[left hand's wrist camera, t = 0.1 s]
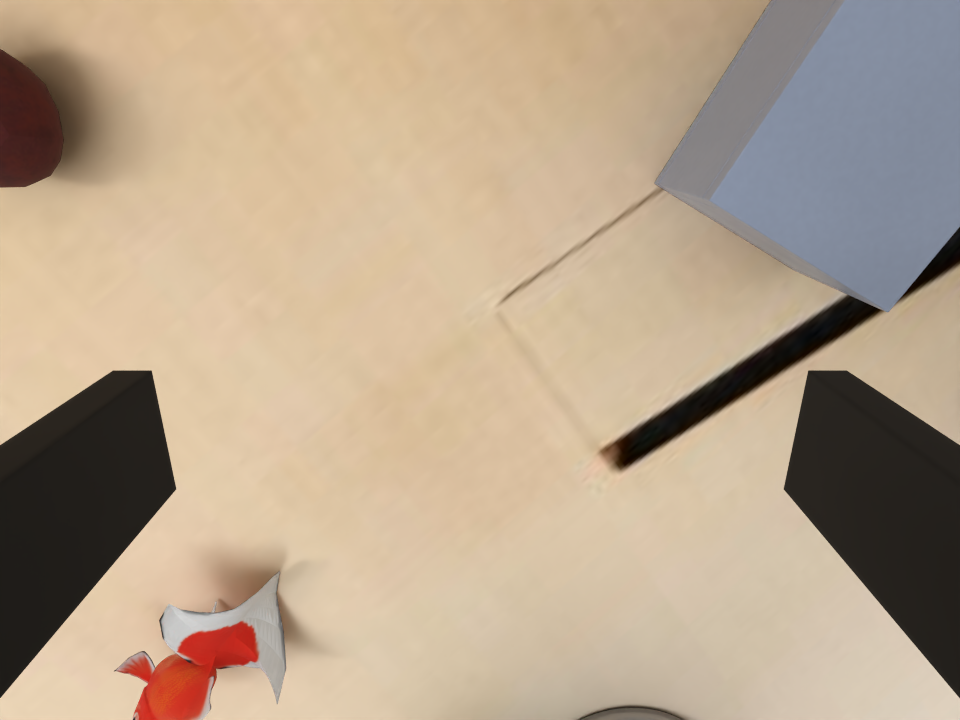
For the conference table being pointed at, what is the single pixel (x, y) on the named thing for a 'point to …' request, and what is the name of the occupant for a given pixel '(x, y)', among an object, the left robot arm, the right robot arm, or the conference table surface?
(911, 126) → the cabinet
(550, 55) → the conference table surface
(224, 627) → the fish
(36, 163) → the dark brown ball
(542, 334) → the conference table surface
